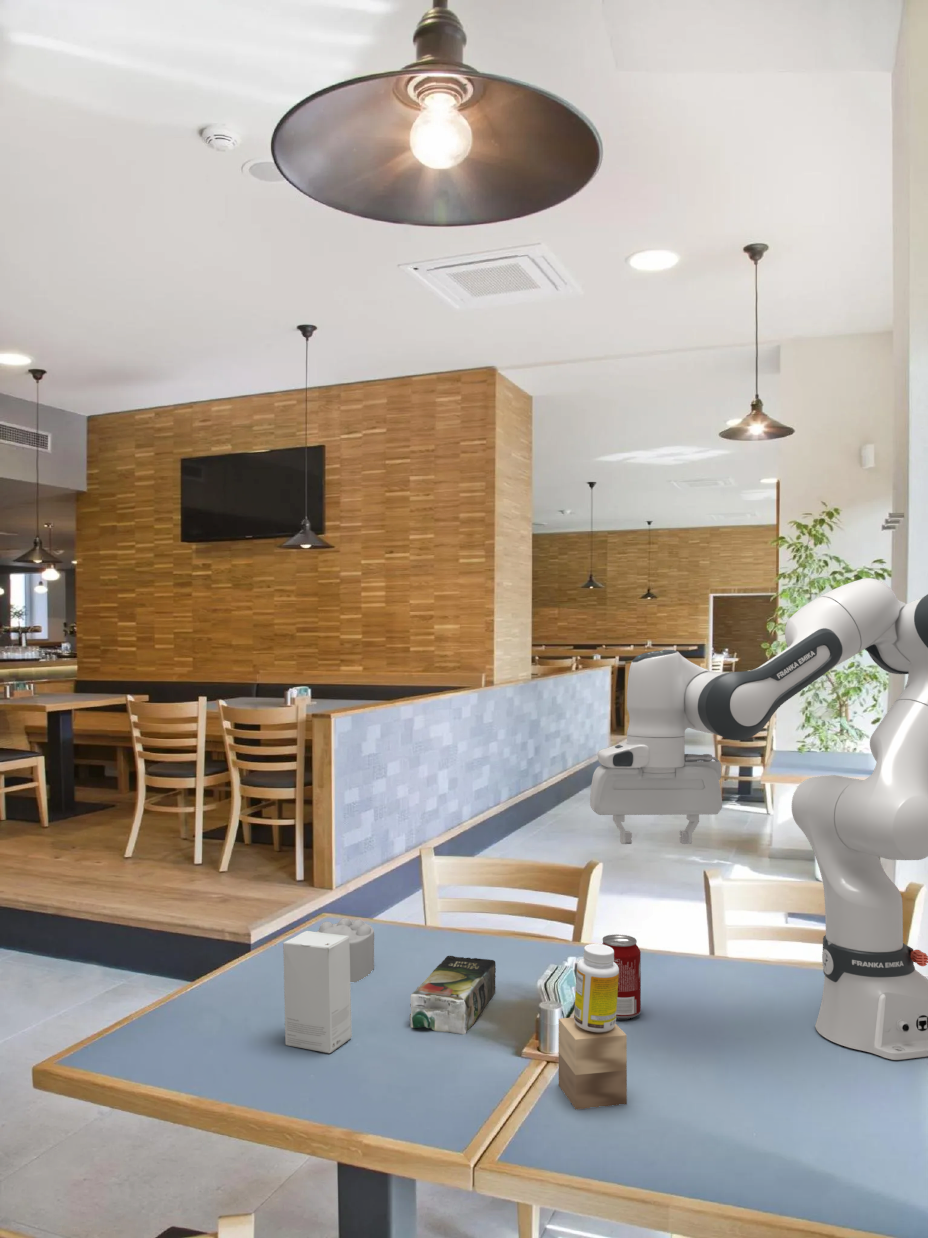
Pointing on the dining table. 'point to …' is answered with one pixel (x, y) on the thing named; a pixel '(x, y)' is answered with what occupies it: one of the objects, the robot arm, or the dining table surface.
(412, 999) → the juice carton
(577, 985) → the supplement bottle
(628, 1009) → the soda can
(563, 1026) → the tower top block
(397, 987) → the dining table surface
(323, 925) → the lumpy-topped squat cylinder
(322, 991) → the skincare box
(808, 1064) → the dining table surface
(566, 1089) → the tower base block
